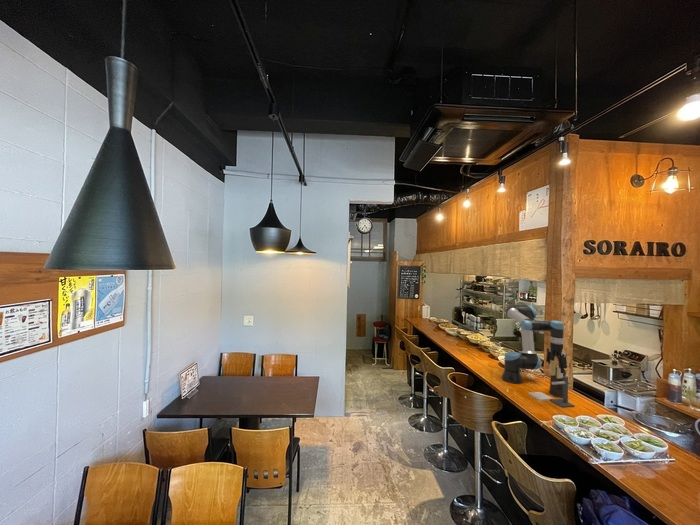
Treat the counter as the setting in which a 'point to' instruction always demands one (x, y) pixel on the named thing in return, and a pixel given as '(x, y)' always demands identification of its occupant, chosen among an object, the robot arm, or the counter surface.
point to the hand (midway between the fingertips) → (556, 374)
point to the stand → (564, 401)
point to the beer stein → (556, 389)
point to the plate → (540, 396)
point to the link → (554, 368)
